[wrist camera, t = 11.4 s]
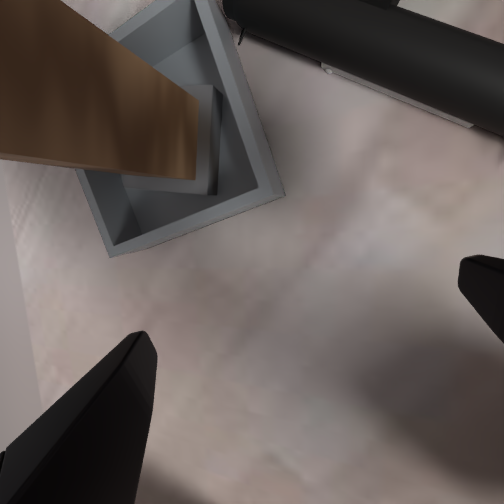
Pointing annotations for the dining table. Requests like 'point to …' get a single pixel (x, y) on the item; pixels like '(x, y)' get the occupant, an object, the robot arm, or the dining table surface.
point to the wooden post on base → (100, 104)
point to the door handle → (389, 52)
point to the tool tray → (231, 142)
